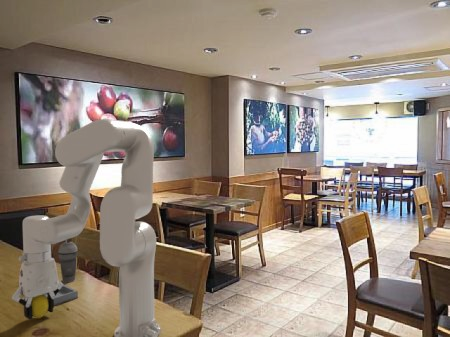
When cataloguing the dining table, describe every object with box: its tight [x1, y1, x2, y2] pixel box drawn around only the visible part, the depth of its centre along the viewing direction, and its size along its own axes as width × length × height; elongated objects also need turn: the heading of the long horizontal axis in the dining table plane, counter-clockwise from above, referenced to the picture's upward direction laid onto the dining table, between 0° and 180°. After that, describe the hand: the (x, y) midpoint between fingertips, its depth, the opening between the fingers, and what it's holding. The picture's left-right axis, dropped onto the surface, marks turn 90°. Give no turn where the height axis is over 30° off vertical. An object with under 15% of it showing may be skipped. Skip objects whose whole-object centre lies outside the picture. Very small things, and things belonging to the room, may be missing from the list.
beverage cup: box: [57, 239, 79, 283], centre depth 149 cm, size 7×7×20 cm
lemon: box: [30, 295, 49, 320], centre depth 116 cm, size 6×6×8 cm
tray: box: [43, 284, 79, 307], centre depth 131 cm, size 12×12×2 cm
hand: (39, 314), depth 116 cm, fingers closed on lemon, 5 cm apart
